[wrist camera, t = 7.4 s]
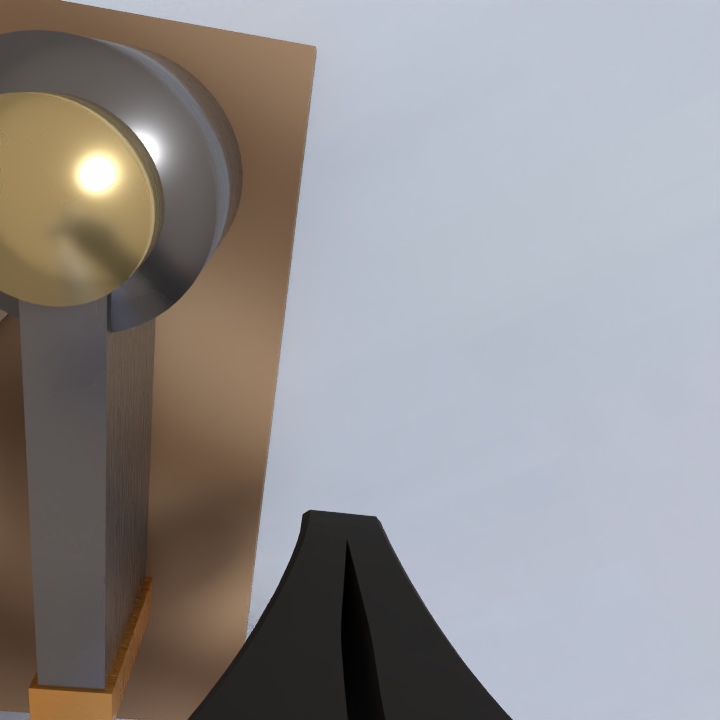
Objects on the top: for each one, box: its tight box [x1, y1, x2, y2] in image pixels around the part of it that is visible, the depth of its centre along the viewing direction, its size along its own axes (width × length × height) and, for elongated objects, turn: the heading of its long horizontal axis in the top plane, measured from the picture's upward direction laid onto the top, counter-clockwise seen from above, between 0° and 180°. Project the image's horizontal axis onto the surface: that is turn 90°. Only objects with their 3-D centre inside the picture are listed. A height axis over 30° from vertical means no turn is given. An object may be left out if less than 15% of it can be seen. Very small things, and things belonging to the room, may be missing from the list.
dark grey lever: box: [0, 30, 243, 720], centre depth 11 cm, size 12×4×4 cm, turn 171°
